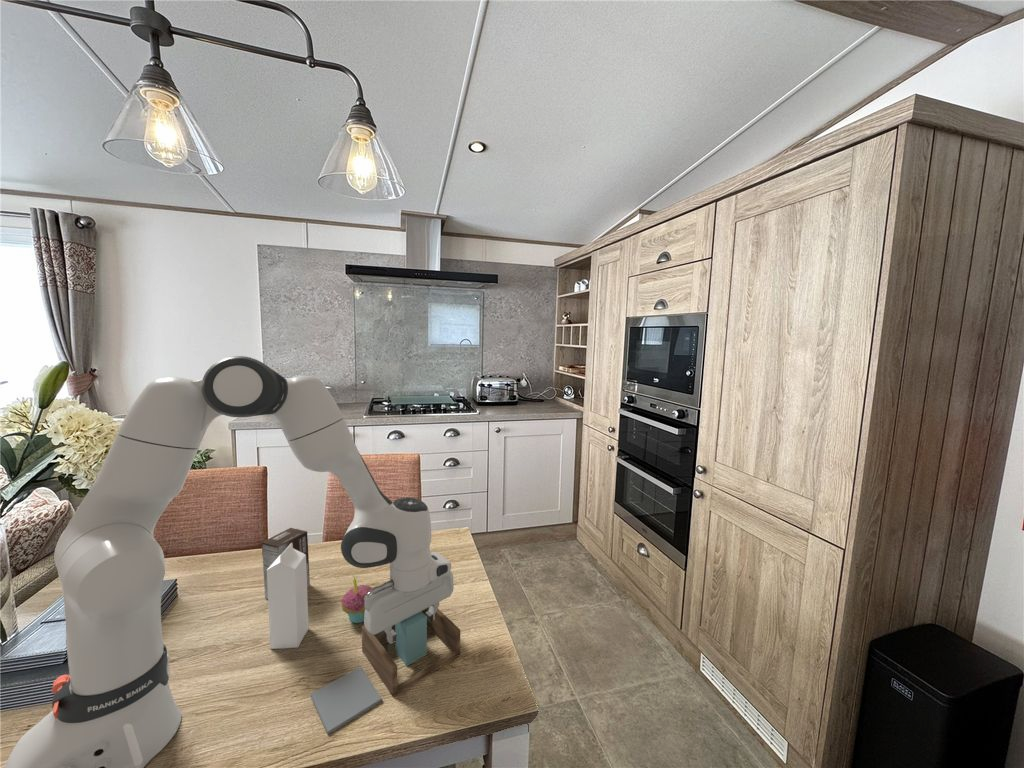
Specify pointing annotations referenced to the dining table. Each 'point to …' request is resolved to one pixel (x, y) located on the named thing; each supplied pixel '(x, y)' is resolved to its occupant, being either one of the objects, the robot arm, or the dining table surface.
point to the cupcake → (355, 602)
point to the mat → (345, 699)
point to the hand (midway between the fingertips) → (411, 630)
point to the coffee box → (279, 544)
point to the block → (411, 638)
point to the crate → (388, 667)
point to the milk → (287, 599)
